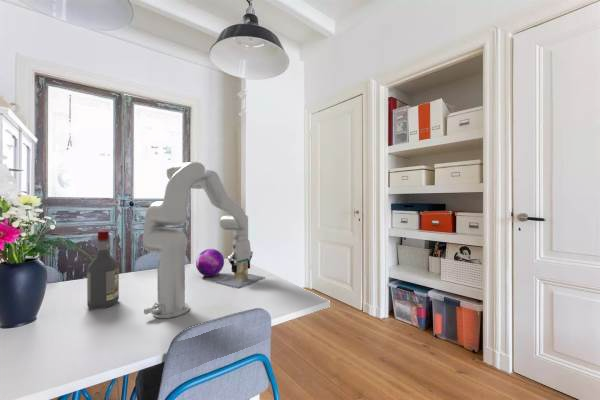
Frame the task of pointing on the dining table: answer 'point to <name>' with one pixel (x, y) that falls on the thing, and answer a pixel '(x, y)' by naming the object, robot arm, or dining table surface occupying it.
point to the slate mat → (238, 284)
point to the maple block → (241, 270)
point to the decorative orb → (210, 262)
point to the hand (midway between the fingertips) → (241, 270)
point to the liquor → (102, 276)
